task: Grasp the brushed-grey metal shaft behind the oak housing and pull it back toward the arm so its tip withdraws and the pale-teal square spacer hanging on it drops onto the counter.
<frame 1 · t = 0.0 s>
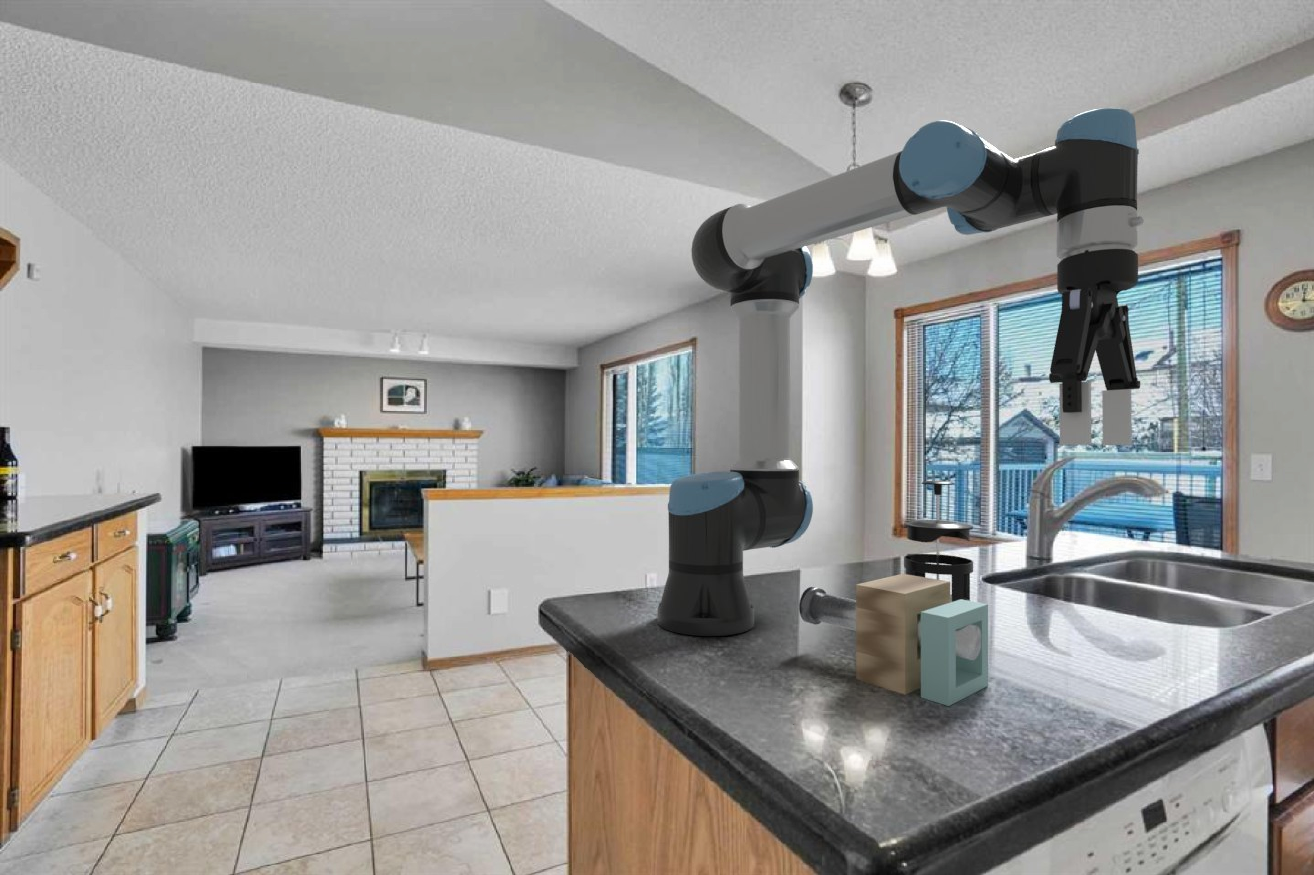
hand: (1097, 445, 73), 28 cm above the countertop, fingers open, 13 cm apart
housing: (903, 687, 75), on the countertop
shaft: (883, 621, 77), point 7 cm above the countertop, slide at 0.0 cm, touching spacer
spacer: (955, 691, 71), point 1 cm above the countertop, touching shaft
french press: (935, 645, 92), on the countertop
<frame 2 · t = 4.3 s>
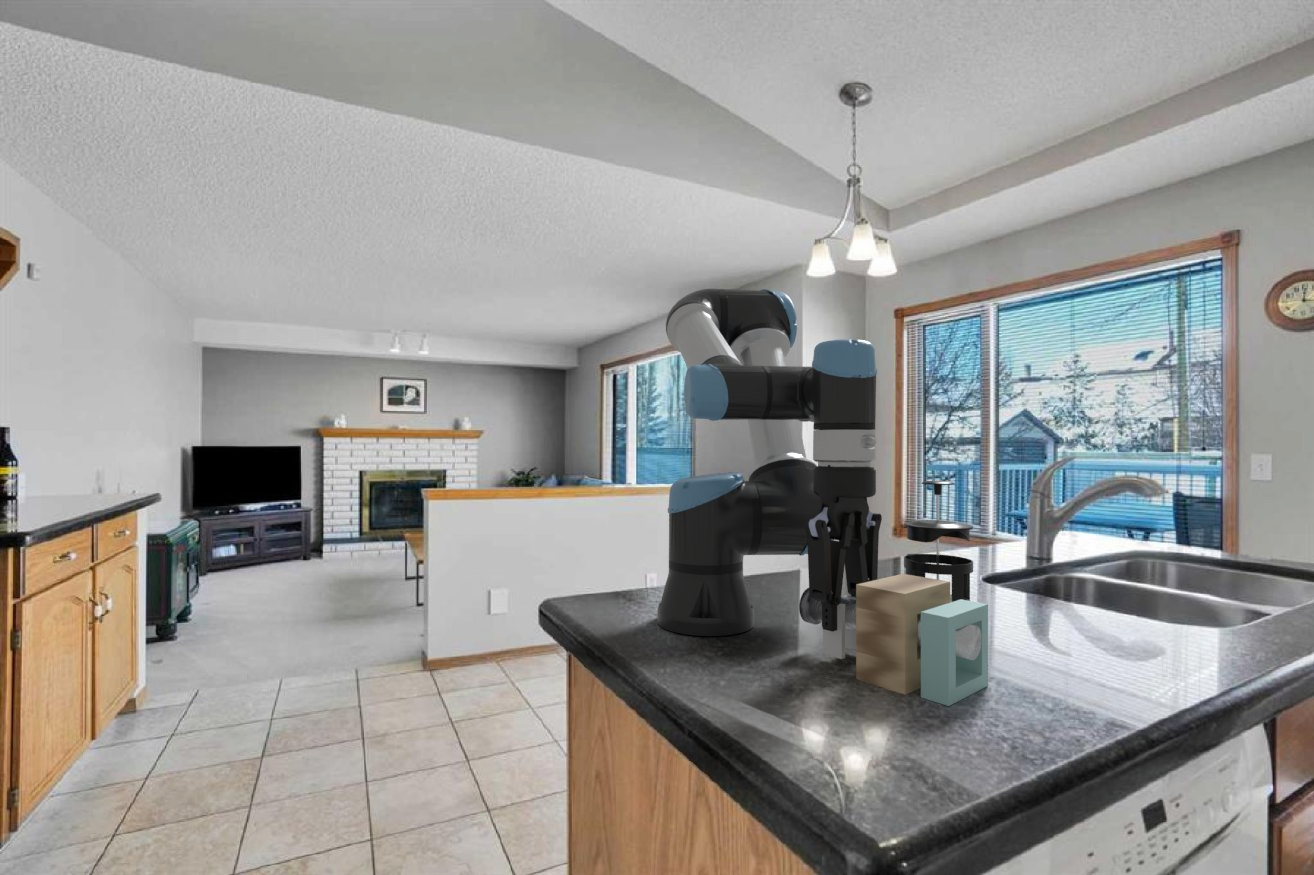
hand: (844, 651, 81), 2 cm above the countertop, fingers closed on shaft, 4 cm apart
shaft: (883, 621, 77), point 7 cm above the countertop, slide at 0.0 cm, touching gripper, spacer
everything else where it was.
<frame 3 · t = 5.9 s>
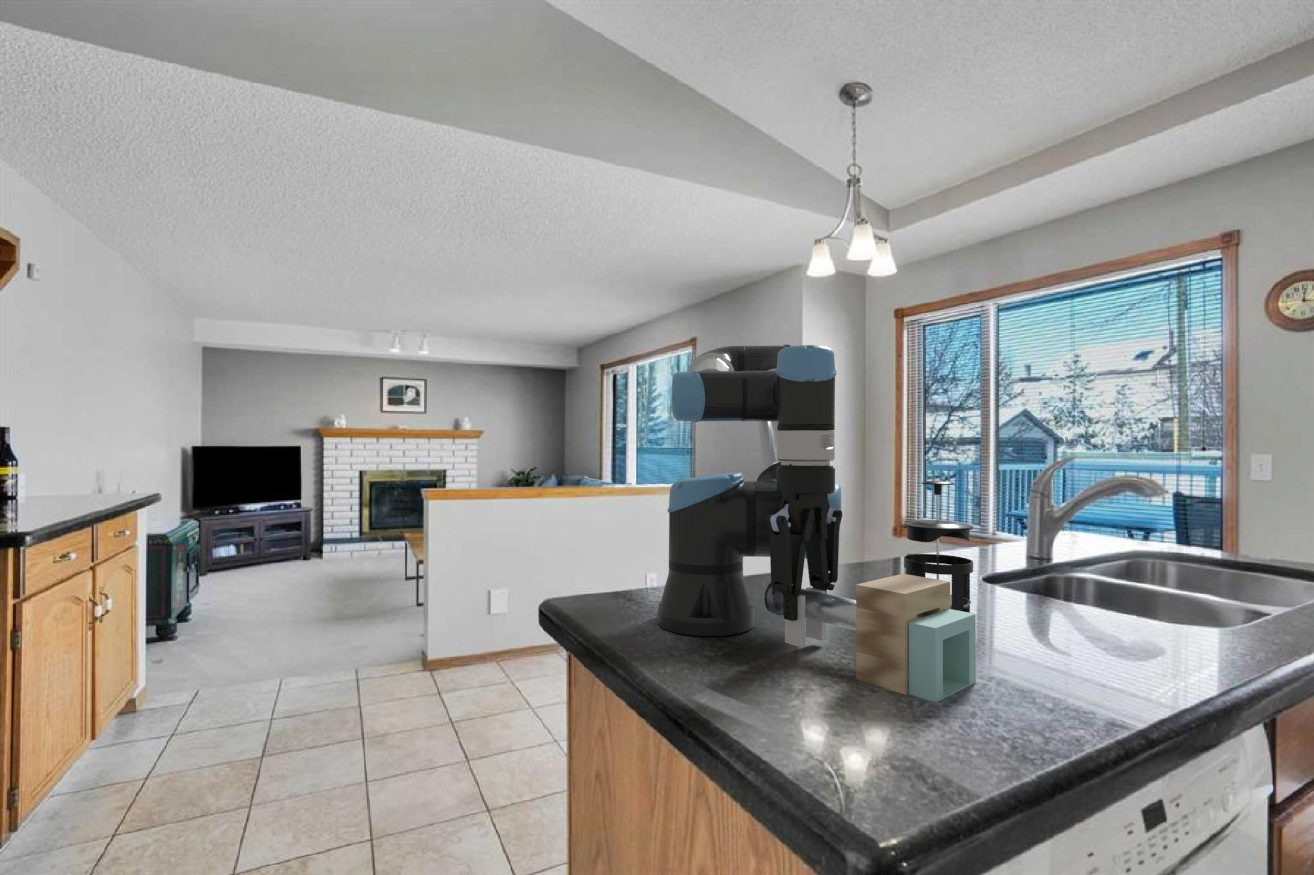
hand: (805, 640, 86), 2 cm above the countertop, fingers closed on shaft, 4 cm apart
shaft: (841, 611, 82), point 7 cm above the countertop, slide at 5.9 cm, touching gripper
spacer: (943, 700, 72), on the countertop
everything else where it was.
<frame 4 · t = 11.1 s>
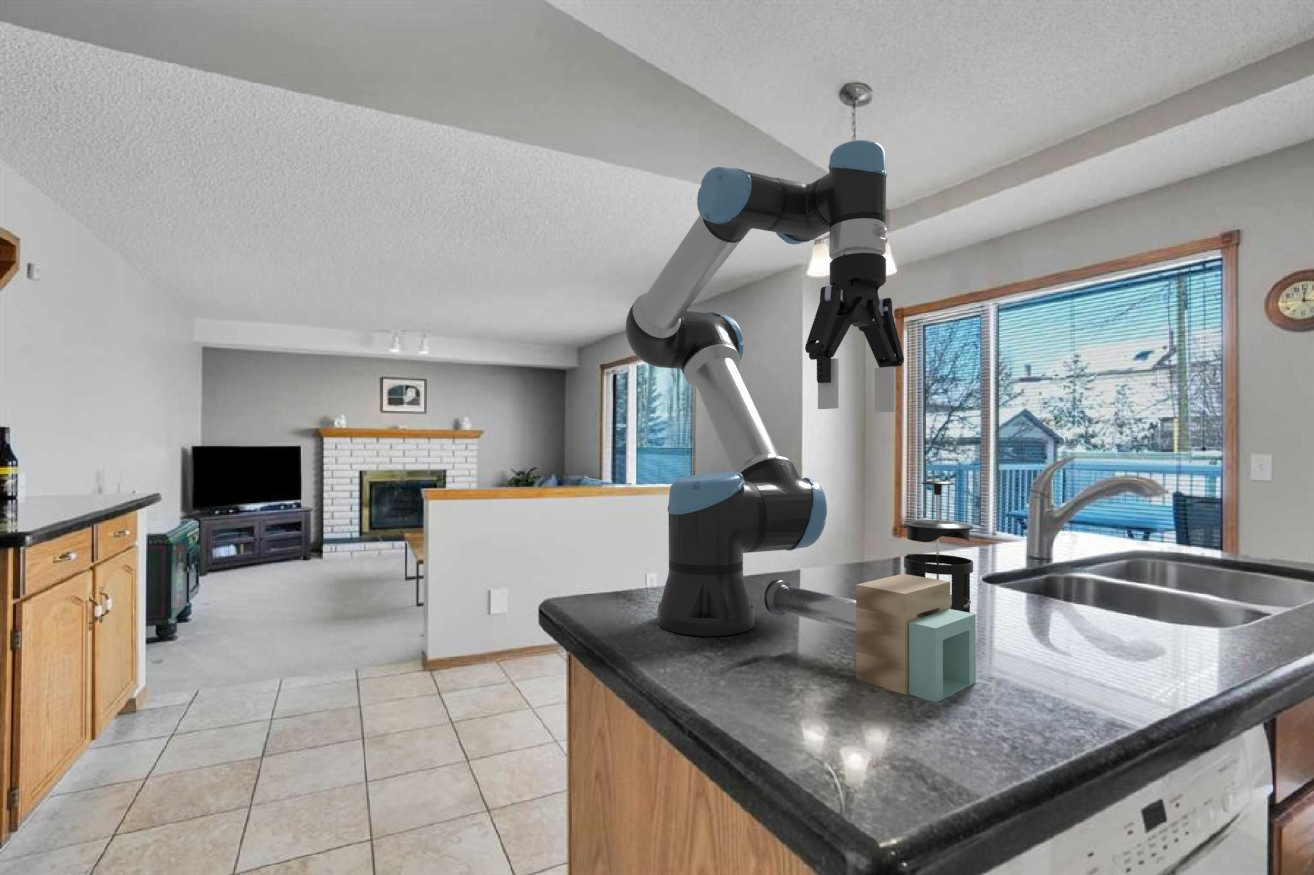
hand: (857, 410, 90), 33 cm above the countertop, fingers open, 13 cm apart
shaft: (841, 611, 82), point 7 cm above the countertop, slide at 5.9 cm
everything else where it was.
at the end: shaft slide at 5.9 cm; spacer touching countertop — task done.
